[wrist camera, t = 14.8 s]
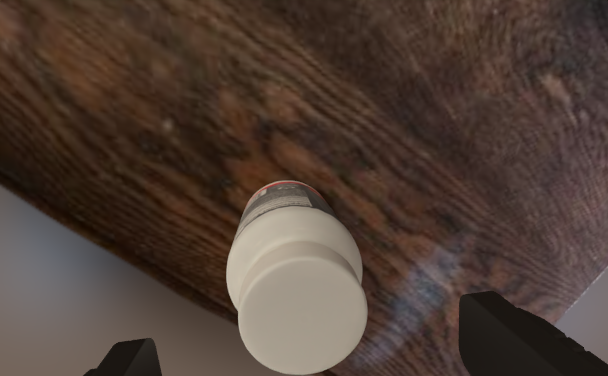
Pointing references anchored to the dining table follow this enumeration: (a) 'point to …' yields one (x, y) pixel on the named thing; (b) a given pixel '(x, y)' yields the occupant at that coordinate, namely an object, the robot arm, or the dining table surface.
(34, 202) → the dining table surface
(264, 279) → the pill bottle
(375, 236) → the dining table surface
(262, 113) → the dining table surface
